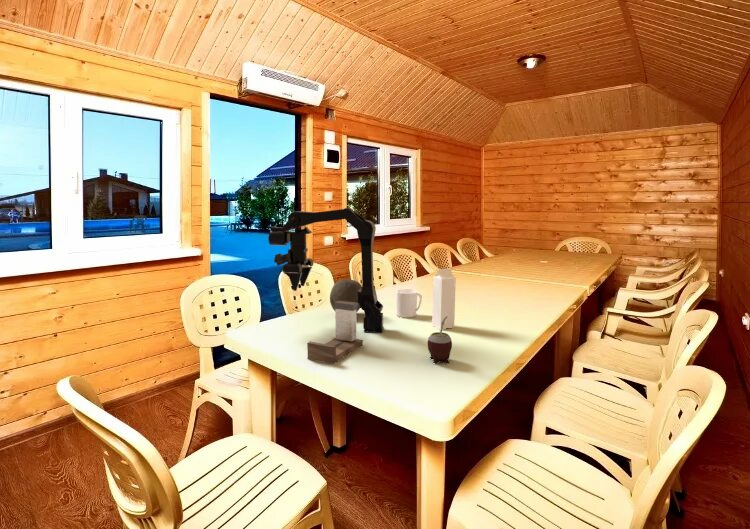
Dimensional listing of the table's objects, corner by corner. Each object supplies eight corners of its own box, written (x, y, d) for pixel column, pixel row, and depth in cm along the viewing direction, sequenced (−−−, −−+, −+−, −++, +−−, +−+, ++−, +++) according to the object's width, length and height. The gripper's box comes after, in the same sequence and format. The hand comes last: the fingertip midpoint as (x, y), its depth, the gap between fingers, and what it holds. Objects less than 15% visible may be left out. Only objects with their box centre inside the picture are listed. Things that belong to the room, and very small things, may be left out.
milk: (454, 328, 161) (456, 269, 158) (440, 330, 159) (442, 270, 156) (445, 324, 167) (447, 267, 163) (431, 325, 164) (433, 268, 161)
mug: (392, 317, 176) (392, 292, 175) (399, 312, 185) (399, 288, 183) (418, 320, 172) (418, 294, 171) (424, 314, 181) (424, 290, 179)
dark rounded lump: (363, 320, 172) (363, 282, 170) (328, 319, 172) (327, 282, 170) (365, 311, 186) (365, 276, 184) (332, 311, 186) (331, 276, 184)
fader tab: (339, 336, 143) (338, 300, 142) (357, 339, 140) (357, 302, 139) (334, 338, 141) (333, 302, 139) (353, 341, 138) (353, 304, 136)
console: (339, 341, 146) (338, 327, 145) (362, 345, 142) (362, 330, 141) (307, 358, 130) (307, 342, 129) (333, 364, 126) (333, 347, 125)
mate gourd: (435, 355, 133) (436, 307, 131) (458, 361, 128) (459, 311, 126) (421, 362, 127) (422, 312, 125) (445, 368, 122) (446, 316, 120)
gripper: (285, 243, 168) (286, 283, 170) (267, 248, 150) (268, 292, 152) (313, 243, 167) (313, 284, 169) (298, 248, 148) (299, 293, 151)
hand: (298, 288), depth 160 cm, fingers open, 9 cm apart
